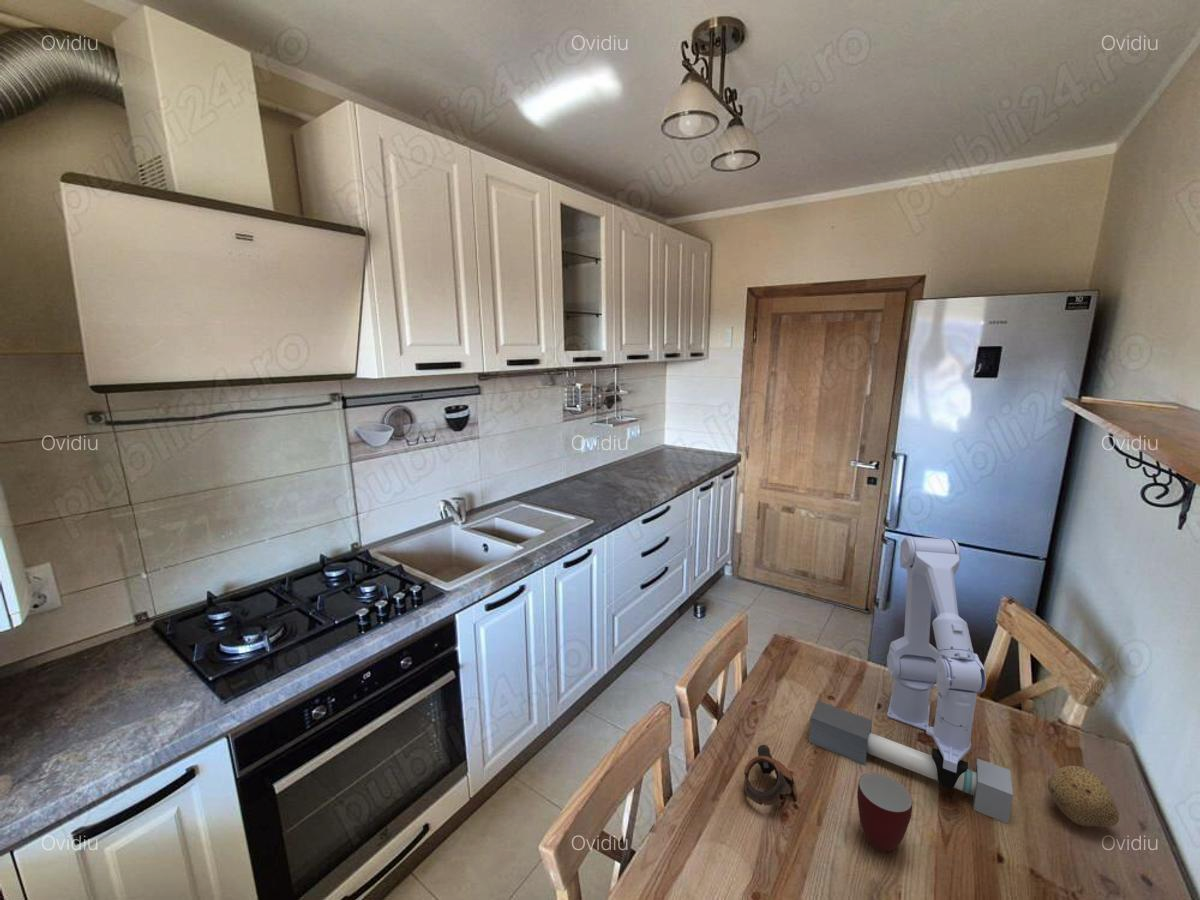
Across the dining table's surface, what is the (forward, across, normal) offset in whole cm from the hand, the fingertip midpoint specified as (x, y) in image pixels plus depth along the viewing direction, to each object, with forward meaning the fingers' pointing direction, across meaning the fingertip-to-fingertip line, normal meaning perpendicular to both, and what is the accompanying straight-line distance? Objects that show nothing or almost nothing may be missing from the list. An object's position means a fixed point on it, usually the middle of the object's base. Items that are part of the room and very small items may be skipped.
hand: (945, 778), depth 97 cm
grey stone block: (+2, 0, -19) cm, 19 cm away
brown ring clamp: (+2, +21, -28) cm, 35 cm away
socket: (+2, 0, +7) cm, 7 cm away
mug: (+2, +19, -10) cm, 21 cm away
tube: (+1, 0, -5) cm, 5 cm away
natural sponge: (+2, -5, +20) cm, 20 cm away
